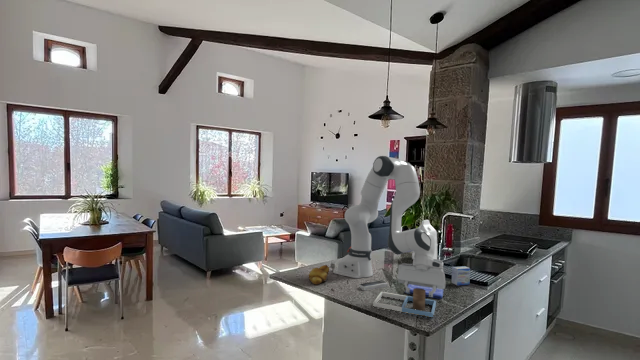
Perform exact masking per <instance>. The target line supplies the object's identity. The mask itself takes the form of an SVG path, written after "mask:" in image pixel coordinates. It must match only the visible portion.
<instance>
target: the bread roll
mask: <svg viewBox="0 0 640 360" xmlns="http://www.w3.org/2000/svg"><path fill="white" fill-rule="evenodd" d="M329 272H330V267H329V265H326V264H324V265H321V266H320V267H314V268H311V270H310V272H309V273H308V279H309V281H310V282H311V283H312V284H313V285H320V284H322V283H324V282H326V280H327V278H328V275H329Z"/></svg>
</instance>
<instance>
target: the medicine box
mask: <svg viewBox="0 0 640 360" xmlns="http://www.w3.org/2000/svg"><path fill="white" fill-rule="evenodd" d="M470 280H471V268H470V267H468V266H465V265H464V266H463V265H462V266H452V267H451V283H452V284H453V285H456V286H468V285H470Z"/></svg>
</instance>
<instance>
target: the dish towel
mask: <svg viewBox="0 0 640 360" xmlns="http://www.w3.org/2000/svg"><path fill="white" fill-rule="evenodd" d="M407 287H408V288H410V293H406V290H405V291H404V293H405V294H407V295H412V296H413V289H415V288H421V289H424V290H425V291H426V293H425V298H431V299H439V300H442V299H443V296H444V289H437V288H436V291H435V292H434V293H433V297H429V291H432V290H433V288H430V287H424V286H417V285H411V284H408V286H407Z"/></svg>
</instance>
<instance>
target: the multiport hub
mask: <svg viewBox="0 0 640 360" xmlns="http://www.w3.org/2000/svg"><path fill="white" fill-rule="evenodd" d="M359 287H360V288H361V289H360V288H359ZM385 287H388V282H387V281H386V280H383V279H382V280H381V279H380V280H375V281H371V282H369V281H368V282H365V283H359V286H358V288H359V289H360V290H362V289H363V290H362V291H364V290H365V291H368V290H367V289H371V290H376V289H380V288H385ZM375 288H376V289H375Z"/></svg>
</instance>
